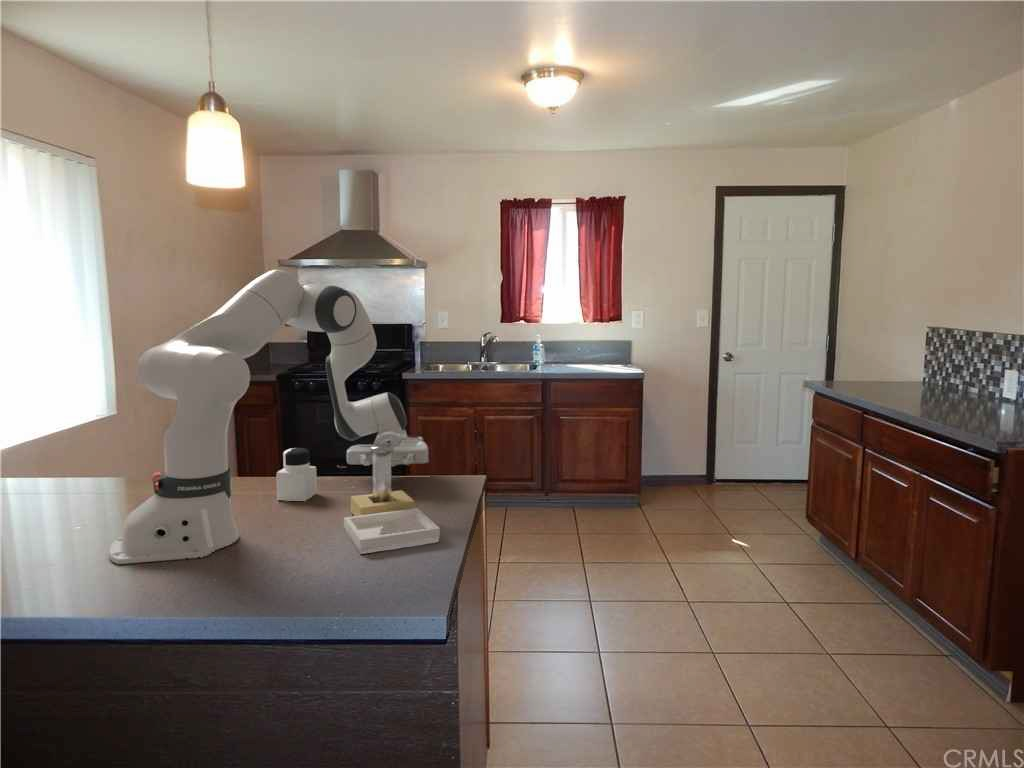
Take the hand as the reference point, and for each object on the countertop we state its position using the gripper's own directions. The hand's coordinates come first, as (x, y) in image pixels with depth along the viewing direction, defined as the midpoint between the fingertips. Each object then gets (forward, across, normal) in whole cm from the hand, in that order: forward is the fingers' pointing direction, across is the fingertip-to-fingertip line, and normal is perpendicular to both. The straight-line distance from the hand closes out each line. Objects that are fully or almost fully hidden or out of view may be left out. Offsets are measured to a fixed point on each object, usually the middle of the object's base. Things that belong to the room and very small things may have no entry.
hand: (386, 462), depth 158 cm
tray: (+26, +3, +9) cm, 27 cm away
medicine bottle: (-3, -22, +10) cm, 24 cm away
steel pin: (+12, 0, +9) cm, 15 cm away
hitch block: (+12, 0, +9) cm, 15 cm away
